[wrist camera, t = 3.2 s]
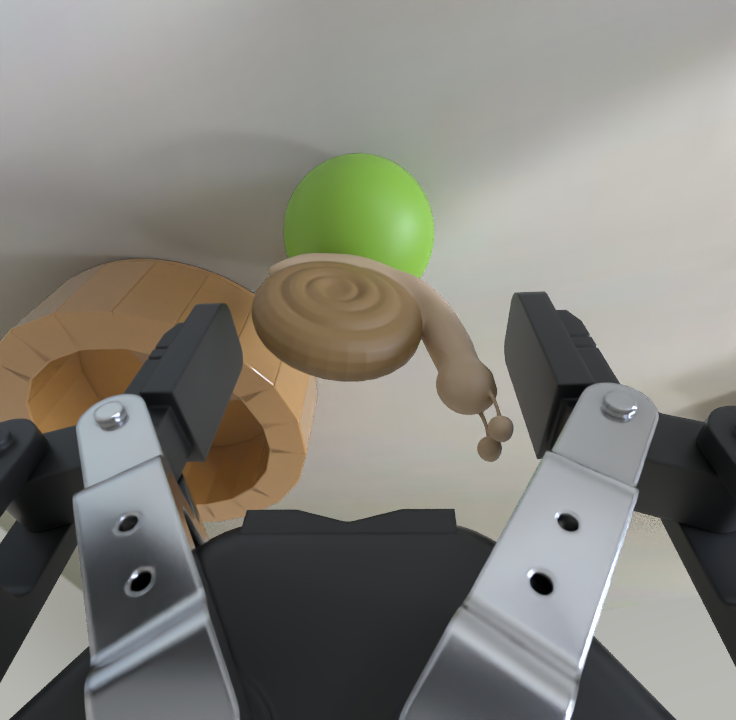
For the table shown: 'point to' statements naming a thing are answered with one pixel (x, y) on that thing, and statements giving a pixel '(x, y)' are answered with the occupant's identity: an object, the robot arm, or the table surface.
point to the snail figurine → (368, 289)
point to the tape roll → (132, 348)
